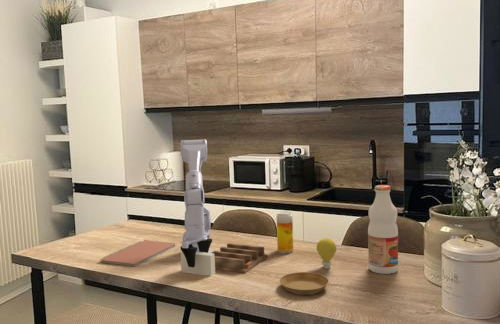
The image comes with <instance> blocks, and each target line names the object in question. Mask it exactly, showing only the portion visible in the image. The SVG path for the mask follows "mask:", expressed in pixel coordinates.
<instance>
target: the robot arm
mask: <svg viewBox="0 0 500 324" xmlns="http://www.w3.org/2000/svg"><path fill="white" fill-rule="evenodd" d="M179 148H180V155H181V159H182V161H183V162H184V163H187V166H188V172H187V173H186V174H185V190H184V191H183V192H184V193H183V197H184V199H183V201H184V205H185V212H184V229H185V231H184V232H183V234H182V241H181V246H180V248H179V249H180V252H183V254H184V256H185V258H186V261H187V264H188V267H195V256H196V251H197V252H205V253H213V251H214V250H212V249H210V248H211V245H212V243H213V238H211V231H209V230H211V227H212V225H211V224H212V223H211V220H212V219H211V211H210V208H208V207H206V206H205V190H204V185H203V174H202V165H203V163H204V162H206V161H208V160H207V159H208V141H207V139H206V138H204V139H185V140H184V139H181V141H180V147H179Z"/></svg>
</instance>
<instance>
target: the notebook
mask: <svg viewBox="0 0 500 324" xmlns="http://www.w3.org/2000/svg"><path fill="white" fill-rule="evenodd" d="M176 245H177V243H176V242H168V241H158V240H156V241H155V240H149V239H148V240H146V239H144V240H143V241H142V240H141V241H138V242H136V243H133V244H130V245H129V246H126V247H124V248H121V249H119V250H118V251H115V252H112V253H110V254H107V255H105V256H103V257H102V258H101V259H99V261H100V263H102V264H103V263H104V264H110V265H122V266H129V267H136V266H139V265H141V264H143V263H144V262H145V263H146V262H148V261H149V260H151V259H153V258H155V257H156V256H159V255H160V254H163V253H165V252H167V251H168V250H170V249H173V248H174V247H176Z"/></svg>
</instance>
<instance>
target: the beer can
mask: <svg viewBox="0 0 500 324" xmlns="http://www.w3.org/2000/svg"><path fill="white" fill-rule="evenodd" d="M293 225H294V222H293V214H292V212H291V211H278V212H277V213H276V238H277V240H276V242H277V248H276V249H277V251H278V253H280V254H291V253H292V252H293V251H294V226H293Z"/></svg>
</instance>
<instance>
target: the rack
mask: <svg viewBox="0 0 500 324" xmlns="http://www.w3.org/2000/svg"><path fill="white" fill-rule="evenodd" d="M212 253H213V254H214V256H215V270H220V271H228V272H235V273H241V274H246V273H248V272H249V271H250V270H252V269H254V268H255V267H256V266H257V265H259V264H261V263H262V262H263V261H264V260H266V259H268V254H267V253H266V254H265V246H259V245H251V244H250V245H248V244H241V243H238V244H237V243H230V242H229V243H226V246H220V247H219V250H213V252H212Z"/></svg>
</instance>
